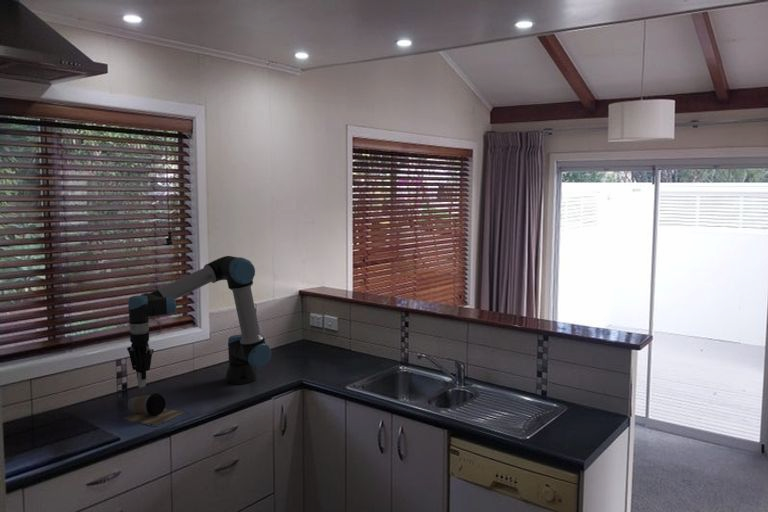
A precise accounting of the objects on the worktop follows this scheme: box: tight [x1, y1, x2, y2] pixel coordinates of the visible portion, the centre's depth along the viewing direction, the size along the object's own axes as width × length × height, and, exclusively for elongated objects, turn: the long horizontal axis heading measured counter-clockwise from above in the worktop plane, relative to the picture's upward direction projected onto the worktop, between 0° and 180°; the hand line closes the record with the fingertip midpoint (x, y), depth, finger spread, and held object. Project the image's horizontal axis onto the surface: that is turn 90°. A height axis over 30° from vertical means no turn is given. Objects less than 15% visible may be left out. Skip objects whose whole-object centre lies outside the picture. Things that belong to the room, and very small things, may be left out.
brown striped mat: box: [122, 408, 185, 427], centre depth 266 cm, size 18×16×1 cm
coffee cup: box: [127, 392, 166, 416], centre depth 267 cm, size 9×9×15 cm
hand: (142, 386), depth 267 cm, fingers closed
